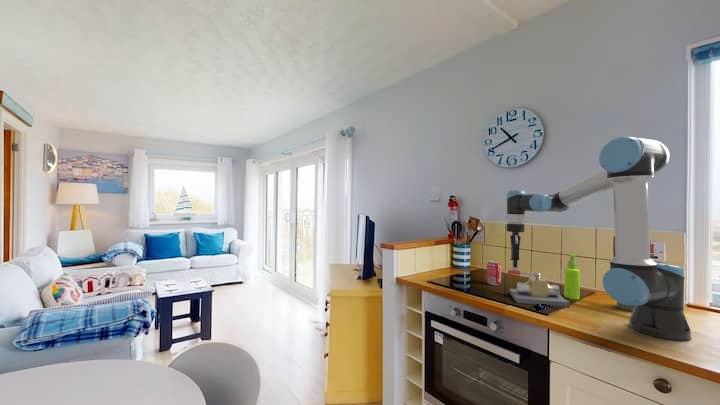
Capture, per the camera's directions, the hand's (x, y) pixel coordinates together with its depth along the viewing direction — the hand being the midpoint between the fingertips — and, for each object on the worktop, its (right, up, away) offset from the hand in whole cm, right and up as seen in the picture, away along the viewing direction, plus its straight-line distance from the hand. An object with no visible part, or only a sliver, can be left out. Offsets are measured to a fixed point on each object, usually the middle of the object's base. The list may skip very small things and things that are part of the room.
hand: (514, 273), depth 146 cm
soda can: (-1, -10, +20) cm, 22 cm away
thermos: (+39, -11, -17) cm, 44 cm away
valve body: (+7, -9, -6) cm, 13 cm away
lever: (+3, 0, -4) cm, 4 cm away
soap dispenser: (+26, -11, -2) cm, 28 cm away
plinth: (+7, -10, -6) cm, 14 cm away
